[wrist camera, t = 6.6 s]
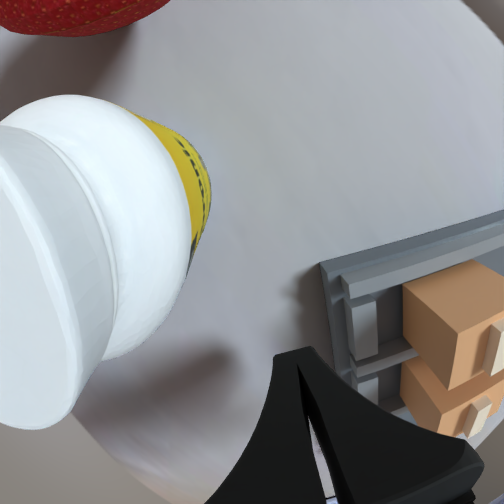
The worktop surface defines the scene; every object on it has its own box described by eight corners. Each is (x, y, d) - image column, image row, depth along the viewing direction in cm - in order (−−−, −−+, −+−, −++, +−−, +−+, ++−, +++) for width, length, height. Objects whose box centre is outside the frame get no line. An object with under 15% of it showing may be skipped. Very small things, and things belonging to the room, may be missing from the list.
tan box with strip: (459, 367, 13) (503, 418, 9) (399, 395, 13) (436, 458, 9) (466, 331, 13) (519, 381, 8) (401, 358, 13) (448, 424, 8)
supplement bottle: (205, 268, 12) (157, 500, 3) (84, 250, 12) (-79, 392, 3) (224, 131, 11) (177, 22, 2) (92, 122, 10) (-124, 105, 1)
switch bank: (533, 349, 16) (548, 362, 14) (342, 444, 17) (351, 469, 14) (555, 192, 12) (578, 199, 10) (319, 262, 13) (335, 283, 11)
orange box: (468, 307, 12) (527, 356, 8) (402, 335, 12) (455, 401, 8) (472, 259, 11) (542, 300, 7) (402, 283, 11) (468, 343, 7)
